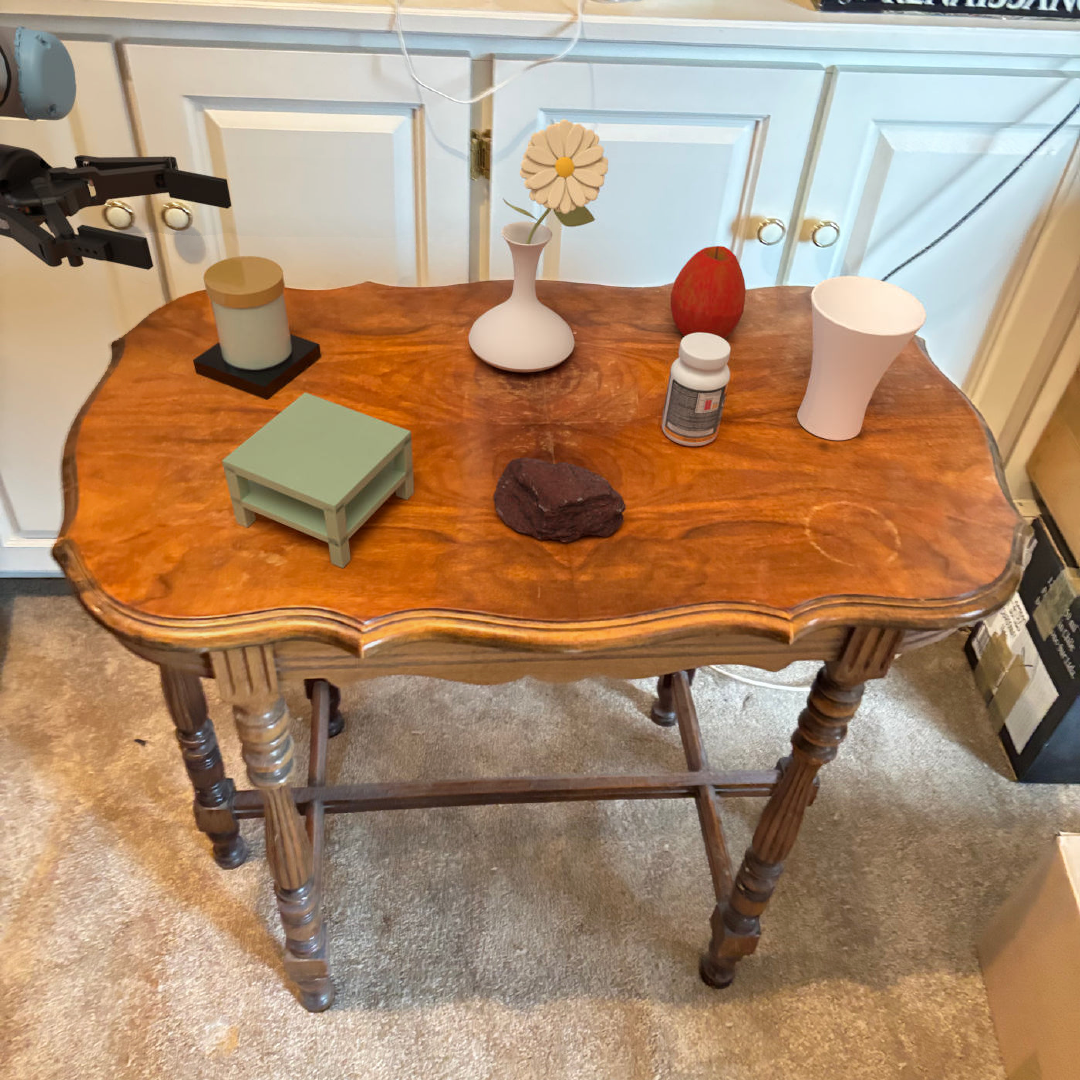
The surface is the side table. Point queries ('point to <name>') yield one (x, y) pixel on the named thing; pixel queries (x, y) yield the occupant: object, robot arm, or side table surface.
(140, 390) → the side table surface
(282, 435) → the shelf
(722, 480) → the side table surface
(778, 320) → the side table surface
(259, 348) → the jar
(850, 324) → the cup
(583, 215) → the flower in vase
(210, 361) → the hot plate
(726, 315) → the apple
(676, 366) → the pill bottle
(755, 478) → the side table surface
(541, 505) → the rock
